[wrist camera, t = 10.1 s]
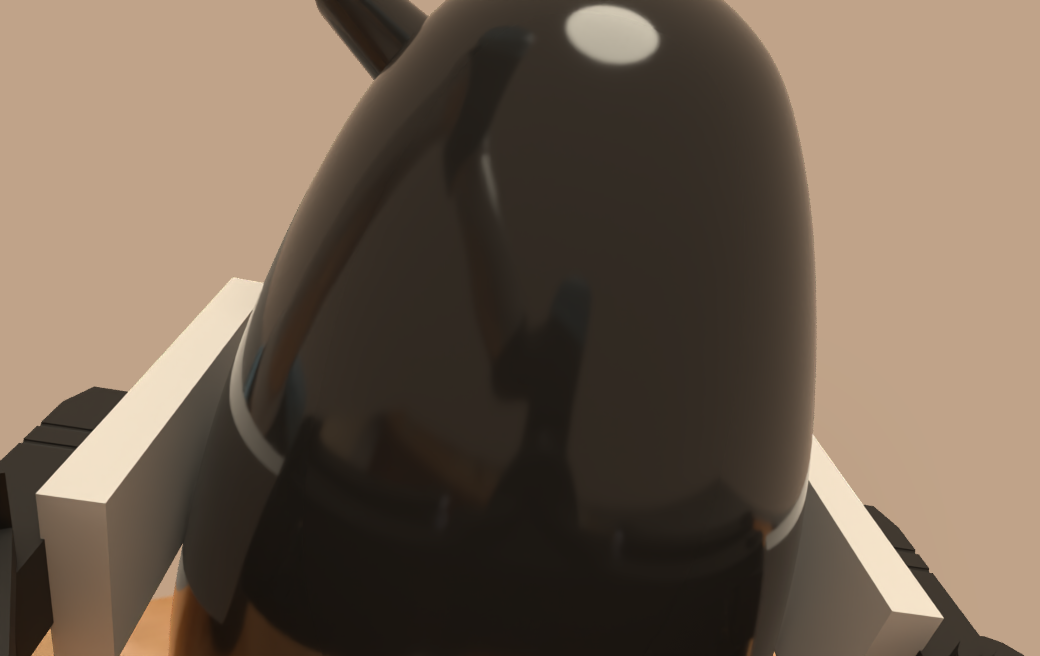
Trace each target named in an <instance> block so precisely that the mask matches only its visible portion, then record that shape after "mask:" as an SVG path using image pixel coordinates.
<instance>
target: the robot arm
mask: <svg viewBox="0 0 1040 656" xmlns="http://www.w3.org/2000/svg"><path fill="white" fill-rule="evenodd" d="M263 284H264V283H261V282H255V281H250V280H245V279H238V278H232V279H231V280H230V281H229V282H228V283H227V284H226V285H225V286H224V288H223V289H222V290H221V291H220V292H219V293H218V294H217V295H216V296H215V297H214V299H213V300H212V301H211V302H210V303H209V304H208V305H207V306H206V307H205V308H204V310H203V311H202V312H201V313H200V314H199V315H198V316H197V317H196V318H195V319H194V321H193V322H192V323H191V324H190V325H189V326H188V327H187V328H186V329H185V330H184V331H183V333H182V334H181V335H180V336H179V337H178V338H177V339H176V340H175V341H174V343H173V344H172V345H171V346H170V347H169V348H168V349H167V350H166V351H165V352H164V353H163V355H162V356H161V357H160V358H159V359H158V360H157V361H156V362H155V363H154V364H153V366H152V367H151V368H150V369H149V370H148V371H147V372H146V373H145V374H144V375H143V376H142V378H141V379H140V380H139V381H138V382H137V383H136V384H135V385H134V386H133V387H132V389H131V390H130V391H129V392H126V391H119V390H113V389H106V388H100V387H93V388H90V389H88V390H86V391H84V392H82V393H80V394H78V395H76V396H74V397H71V398H69V399H67V400H65V401H63V402H62V403H61V404H60V405H59V406H58V407H56V408H55V409H54V410H53V411H52V412H51V413H50V414H49V415H48V416H47V417H46V418H45V419H44V420H43V421H42V422H41V426H37V427H36V428H34V429H33V430H32V431H31V432H30V433H29V434H28V435H27V436H26V437H25V438H24V441H23V443H19V444H18V445H17V446H16V447H15V448H13V449H12V450H11V451H10V452H9V453H8V454H7V455H6V456H5V457H4V458H3V459H2V460H1V461H0V656H31V655H32V654H33V652H34V651H35V649H36V648H37V646H38V645H39V643H40V642H41V641H42V639H43V638H44V636H45V635H46V633H47V632H48V631H49V629H50V628H51V634H52V642H53V651H54V656H119V655H120V654H121V652H122V650H123V648H124V646H125V645H126V643H127V641H128V639H129V638H130V636H131V634H132V632H133V630H134V629H135V627H136V625H137V623H138V622H139V620H140V618H141V616H142V615H143V613H144V611H145V609H146V607H147V606H148V604H149V602H150V600H151V599H152V597H153V595H154V593H155V591H156V590H157V588H158V586H159V584H160V583H161V581H162V579H163V577H164V575H165V574H166V572H167V570H168V568H169V566H170V565H171V563H172V561H173V560H174V558H175V556H176V554H177V552H178V550H179V549H180V547H181V545H182V544H183V541H184V536H185V531H186V526H187V522H188V517H189V512H190V508H191V503H192V499H193V494H194V490H195V486H196V482H197V478H198V473H199V469H200V466H201V462H202V458H203V454H204V450H205V447H206V443H207V440H208V436H209V432H210V429H211V426H212V422H213V419H214V416H215V413H216V409H217V406H218V403H219V400H220V397H221V394H222V391H223V388H224V385H225V382H226V379H227V377H228V374H229V371H230V368H231V365H232V363H233V360H234V357H235V354H236V352H237V349H238V346H239V344H240V341H241V338H242V336H243V333H244V331H245V328H246V325H247V323H248V320H249V318H250V315H251V313H252V310H253V308H254V306H255V303H256V301H257V298H258V296H259V293H260V291H261V289H262V286H263ZM774 651H775V654H776V656H1024V655H1022V654H1021V653H1019V652H1017V651H1015V650H1014V649H1012V648H1010V647H1009V646H1007V645H1005V644H1004V643H1001V642H998V641H996V640H993V639H990V638H987V637H984V636H979V634H978V633H977V632H976V630H975V629H974V628H973V627H972V625H971V624H970V622H969V621H968V620H967V618H966V617H965V616H964V614H963V613H962V612H961V611H960V609H959V608H958V606H957V605H956V604H955V602H954V601H953V600H952V598H951V597H950V596H949V594H948V593H947V592H946V590H945V589H944V588H943V586H942V585H941V584H940V582H939V581H938V580H937V578H936V577H935V576H934V574H933V573H929V568H928V566H927V565H926V564H925V562H924V561H923V560H922V558H921V557H920V556H919V555H918V554H915V549H914V548H913V546H912V545H911V544H910V542H909V541H908V540H907V538H906V537H905V536H904V534H903V533H902V532H901V530H900V529H899V528H898V527H897V526H896V525H894V523H893V522H891V521H890V520H889V519H888V518H887V517H885V516H884V515H883V514H882V513H881V512H880V511H878V510H877V509H876V508H875V507H874V506H868V505H863V504H862V503H861V501H860V500H859V498H858V497H857V496H856V494H855V493H854V491H853V490H852V489H851V487H850V486H849V484H848V483H847V482H846V480H845V479H844V477H843V476H842V475H841V473H840V472H839V470H838V469H837V468H836V466H835V465H834V463H833V462H832V461H831V459H830V458H829V456H828V455H827V454H826V452H825V451H824V449H823V448H822V446H821V445H820V444H819V442H818V441H817V439H816V438H815V437H814V435H813V436H812V449H811V460H810V470H809V479H808V488H807V496H806V503H805V511H804V517H803V524H802V530H801V537H800V543H799V548H798V554H797V559H796V564H795V569H794V574H793V579H792V583H791V588H790V592H789V596H788V600H787V605H786V609H785V613H784V617H783V621H782V624H781V628H780V632H779V636H778V639H777V643H776V646H775V650H774Z"/></svg>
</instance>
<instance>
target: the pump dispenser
mask: <svg viewBox="0 0 1040 656" xmlns="http://www.w3.org/2000/svg"><path fill="white" fill-rule="evenodd" d="M315 1H316V5H317V8H318V10H319V12H320V13H321V15H322V16H323V17H324V19H325V20H326V21H327V22H328V23H329V25H330V26H331V27H332V29H333V30H334V31H335V33H336V34H337V35H338V36H339V37H340V38H341V40H342V41H343V42H344V44H346V46H347V47H348V48H349V50H350V51H351V52H352V53H353V55H354V56H355V57H356V58H357V60H358V61H359V62H360V63H361V64H362V66H363V67H364V68H365V70H366V71H367V72H368V73H369V74H370V76H371V77H372V78H373V80H374V81H373V83H372V84H371V85H370V87H369V89H368V90H367V91H366V92H365V94H364V95H363V97H362V98H361V99H360V101H359V102H358V104H357V105H356V107H355V108H354V110H353V111H352V113H351V115H350V116H349V118H348V119H347V121H346V123H345V124H344V126H343V127H342V129H341V131H340V133H339V134H338V136H337V138H336V139H335V141H334V143H333V144H332V147H331V148H330V150H329V152H328V153H327V155H326V157H325V159H324V161H323V163H322V164H321V166H320V168H319V170H318V172H317V174H316V176H315V177H314V179H313V181H312V183H311V185H310V187H309V189H308V190H307V192H306V194H305V196H304V198H303V200H302V202H301V204H300V206H299V208H298V210H297V212H296V214H295V216H294V218H293V220H292V222H291V224H290V226H289V229H288V230H287V233H286V235H285V237H284V240H283V241H282V244H281V246H280V248H279V250H278V252H277V254H276V257H275V259H274V261H273V263H272V266H271V268H270V270H269V273H268V275H267V277H266V279H265V282H264V284H263V286H262V289H261V291H260V293H259V296H258V298H257V301H256V303H255V306H254V308H253V310H252V313H251V315H250V318H249V320H248V323H247V325H246V328H245V331H244V333H243V336H242V338H241V341H240V344H239V346H238V349H237V352H236V354H235V357H234V360H233V363H232V365H231V368H230V371H229V374H228V377H227V379H226V382H225V385H224V388H223V391H222V394H221V397H220V400H219V403H218V406H217V409H216V413H215V416H214V419H213V422H212V426H211V429H210V432H209V436H208V440H207V443H206V447H205V450H204V454H203V458H202V462H201V466H200V469H199V473H198V478H197V482H196V486H195V490H194V494H193V499H192V503H191V508H190V512H189V517H188V522H187V526H186V531H185V536H184V541H183V546H182V551H181V557H180V561H179V566H178V572H177V577H176V582H175V589H174V595H173V603H172V611H171V619H170V633H169V653H168V656H773V653H774V650H775V646H776V643H777V639H778V636H779V632H780V628H781V624H782V621H783V617H784V613H785V609H786V605H787V600H788V596H789V592H790V588H791V583H792V579H793V574H794V569H795V564H796V559H797V554H798V548H799V543H800V537H801V530H802V524H803V517H804V511H805V503H806V496H807V488H808V479H809V470H810V460H811V449H812V436H813V420H814V402H815V401H814V400H815V378H816V281H815V278H816V277H815V254H814V239H813V226H812V217H811V207H810V199H809V191H808V184H807V177H806V172H805V165H804V160H803V154H802V149H801V144H800V139H799V134H798V130H797V125H796V121H795V117H794V113H793V109H792V106H791V103H790V99H789V96H788V94H787V90H786V88H785V85H784V82H783V80H782V77H781V75H780V73H779V71H778V68H777V66H776V65H775V63H774V61H773V59H772V57H771V55H770V54H769V52H768V51H767V49H766V48H765V46H764V45H763V43H762V42H761V40H760V39H759V38H758V37H757V35H756V34H755V33H754V32H753V30H752V29H751V28H750V27H749V25H748V24H747V23H746V22H745V21H744V20H743V19H742V18H741V17H740V16H739V15H738V13H737V12H736V11H735V10H734V9H732V8H731V7H730V6H729V5H728V4H727V3H726V2H725V1H724V0H446V1H445V2H444V3H443V4H441V5H440V6H439V7H438V8H437V9H436V10H435V11H434V12H433V13H432V14H431V15H430V16H427V15H426V14H425V13H424V12H422V11H421V10H420V9H419V8H417V7H416V6H415V5H414V4H412V3H411V2H410V1H409V0H315Z"/></svg>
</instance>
